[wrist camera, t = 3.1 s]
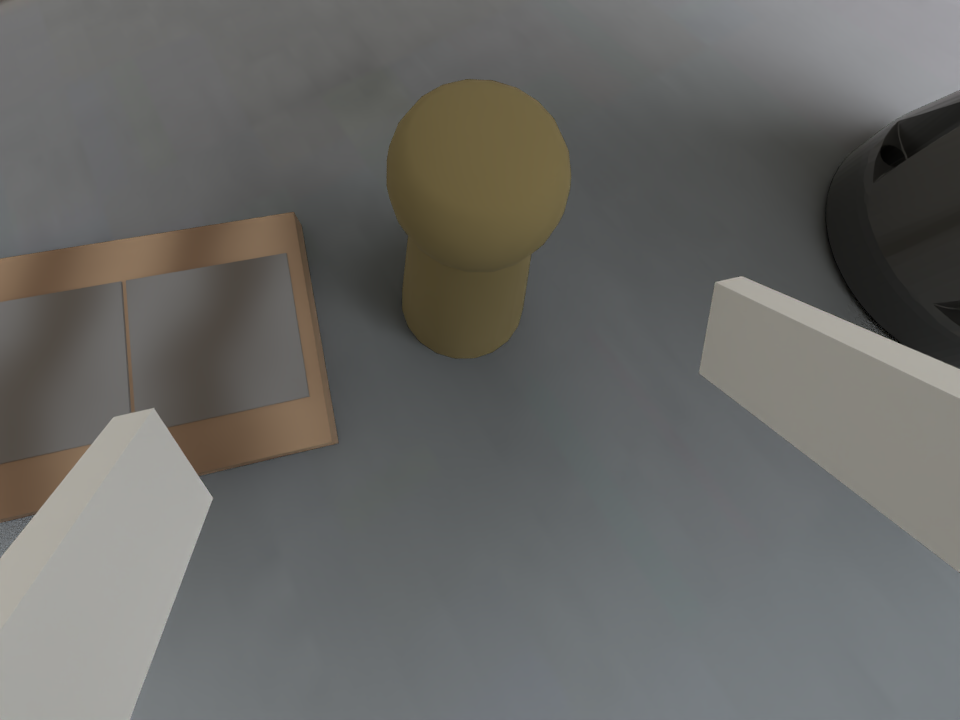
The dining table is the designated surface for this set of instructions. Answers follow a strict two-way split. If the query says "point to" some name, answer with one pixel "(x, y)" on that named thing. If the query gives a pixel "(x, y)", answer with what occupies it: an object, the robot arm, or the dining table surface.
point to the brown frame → (160, 351)
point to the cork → (473, 209)
